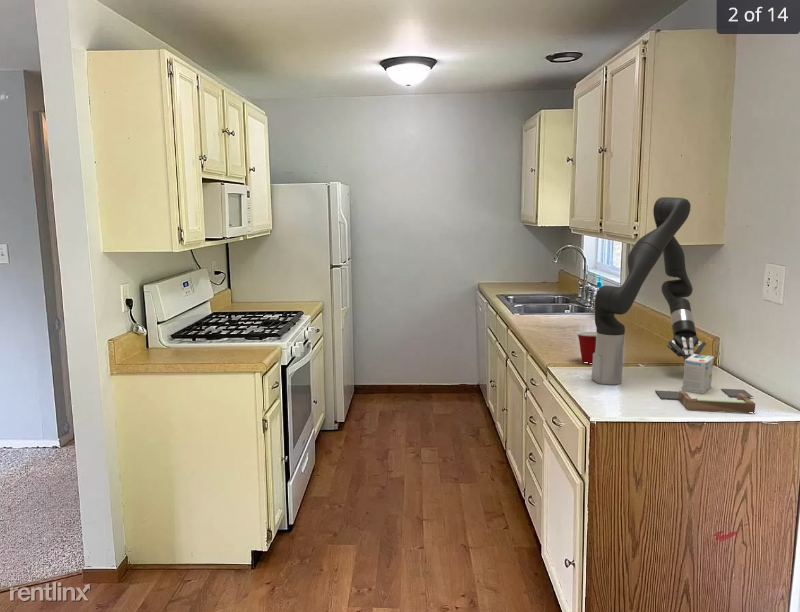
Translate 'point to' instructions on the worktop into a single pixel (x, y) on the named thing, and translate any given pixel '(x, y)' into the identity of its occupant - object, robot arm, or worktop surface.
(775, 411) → the worktop surface
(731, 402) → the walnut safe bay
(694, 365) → the light bulb box
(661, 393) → the pads
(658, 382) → the worktop surface
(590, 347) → the plastic cup
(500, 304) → the worktop surface
